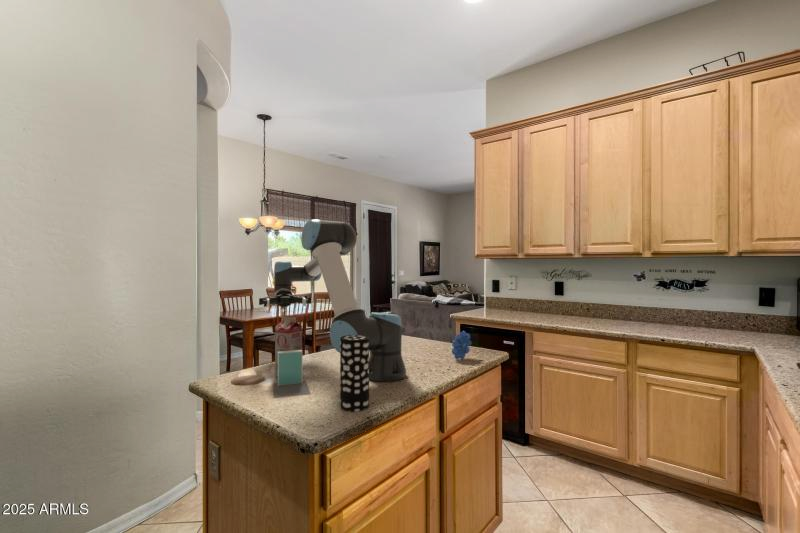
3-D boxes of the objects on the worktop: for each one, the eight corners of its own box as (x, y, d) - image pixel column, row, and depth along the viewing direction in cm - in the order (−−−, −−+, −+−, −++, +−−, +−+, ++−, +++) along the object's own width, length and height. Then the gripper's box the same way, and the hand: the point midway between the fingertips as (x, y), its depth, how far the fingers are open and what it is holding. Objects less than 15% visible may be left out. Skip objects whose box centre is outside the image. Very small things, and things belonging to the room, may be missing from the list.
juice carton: (289, 381, 135) (289, 319, 135) (275, 379, 138) (275, 317, 137) (302, 376, 141) (302, 316, 141) (288, 374, 144) (287, 315, 143)
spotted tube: (371, 409, 109) (371, 339, 109) (342, 413, 106) (342, 341, 106) (365, 399, 117) (365, 334, 117) (338, 402, 114) (338, 335, 114)
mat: (273, 385, 131) (273, 383, 131) (306, 381, 134) (306, 380, 134) (273, 399, 117) (273, 397, 117) (310, 395, 120) (310, 394, 120)
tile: (277, 383, 130) (277, 351, 130) (301, 381, 133) (301, 349, 133) (277, 385, 128) (277, 352, 128) (302, 383, 131) (302, 351, 131)
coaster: (270, 378, 139) (270, 375, 139) (254, 387, 128) (254, 385, 128) (242, 376, 140) (242, 374, 140) (224, 386, 130) (224, 383, 130)
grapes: (463, 354, 174) (463, 328, 174) (474, 357, 169) (474, 330, 169) (445, 358, 167) (445, 331, 167) (456, 362, 162) (456, 333, 162)
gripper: (312, 305, 172) (319, 311, 152) (253, 307, 163) (252, 314, 143) (313, 288, 172) (319, 292, 152) (253, 289, 163) (252, 294, 143)
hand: (287, 303), depth 147 cm, fingers open, 13 cm apart
